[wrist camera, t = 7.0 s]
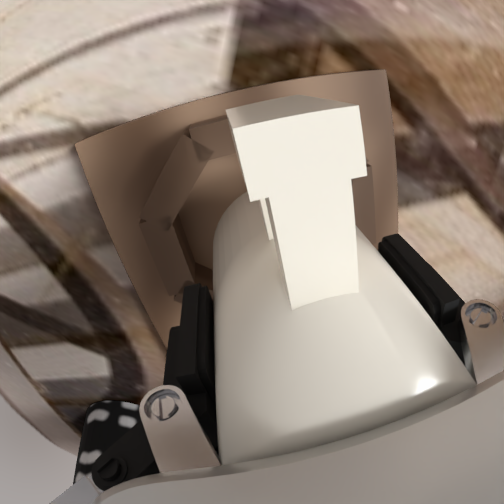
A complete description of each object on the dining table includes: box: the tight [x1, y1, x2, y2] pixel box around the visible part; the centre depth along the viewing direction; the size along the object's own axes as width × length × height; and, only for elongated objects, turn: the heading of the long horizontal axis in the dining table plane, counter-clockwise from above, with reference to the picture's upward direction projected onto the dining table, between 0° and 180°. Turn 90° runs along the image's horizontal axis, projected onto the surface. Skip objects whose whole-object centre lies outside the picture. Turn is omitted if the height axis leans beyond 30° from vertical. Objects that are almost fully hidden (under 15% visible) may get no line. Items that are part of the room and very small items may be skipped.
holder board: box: [75, 70, 398, 348], centre depth 20 cm, size 16×26×3 cm, turn 12°
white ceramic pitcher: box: [213, 95, 477, 466], centre depth 9 cm, size 11×6×10 cm, turn 12°
